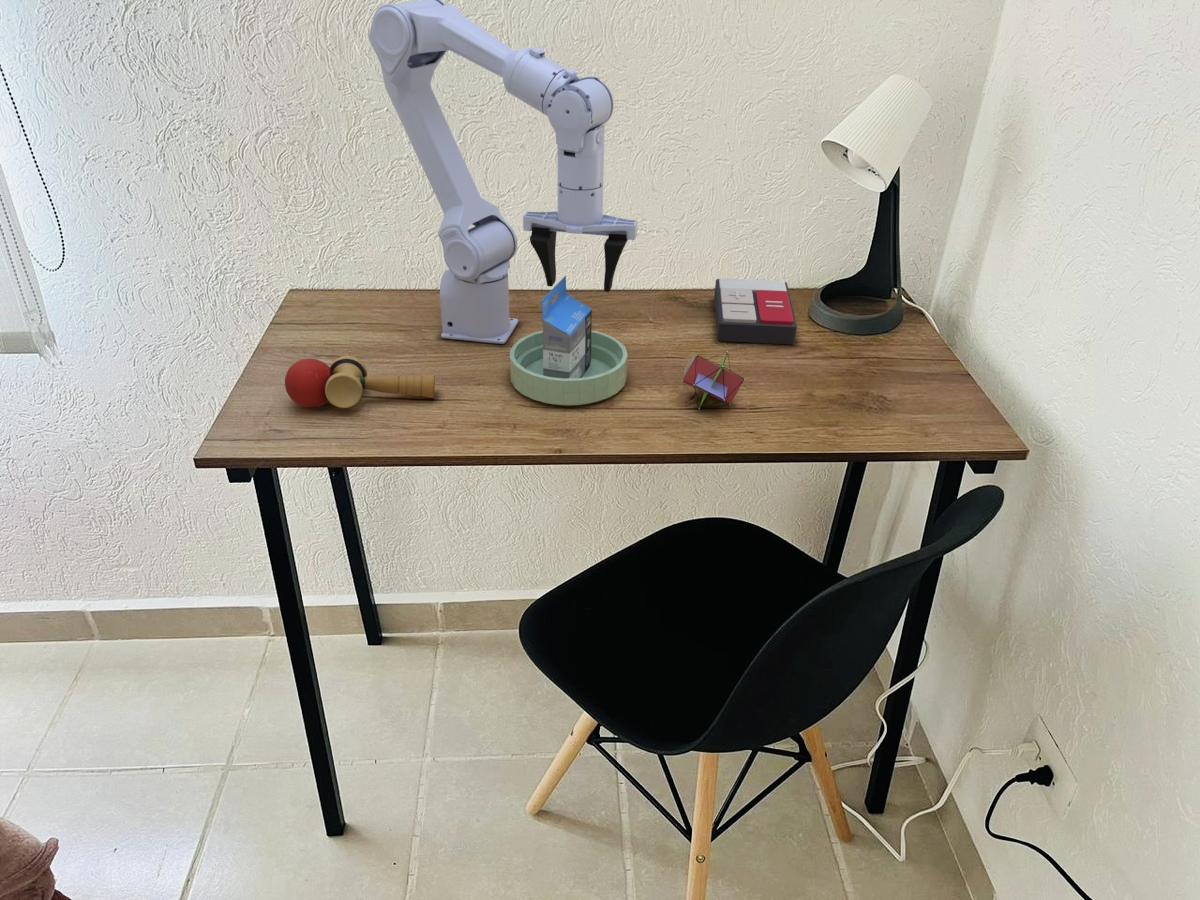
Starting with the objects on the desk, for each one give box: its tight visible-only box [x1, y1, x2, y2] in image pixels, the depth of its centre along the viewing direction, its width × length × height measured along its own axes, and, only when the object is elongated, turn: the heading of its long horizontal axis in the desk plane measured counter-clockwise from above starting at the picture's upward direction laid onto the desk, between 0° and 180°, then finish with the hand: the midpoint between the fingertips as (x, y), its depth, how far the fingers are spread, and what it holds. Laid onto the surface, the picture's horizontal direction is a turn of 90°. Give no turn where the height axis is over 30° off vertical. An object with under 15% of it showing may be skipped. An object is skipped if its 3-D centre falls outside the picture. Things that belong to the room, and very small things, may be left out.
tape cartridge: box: [540, 275, 593, 378], centre depth 117 cm, size 9×4×12 cm, turn 162°
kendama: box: [284, 355, 436, 409], centre depth 114 cm, size 8×6×18 cm
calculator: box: [713, 277, 798, 345], centre depth 136 cm, size 11×4×15 cm
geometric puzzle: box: [681, 350, 746, 410], centre depth 115 cm, size 7×7×8 cm
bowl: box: [509, 329, 629, 407], centre depth 120 cm, size 15×15×4 cm
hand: (579, 286), depth 121 cm, fingers open, 7 cm apart
